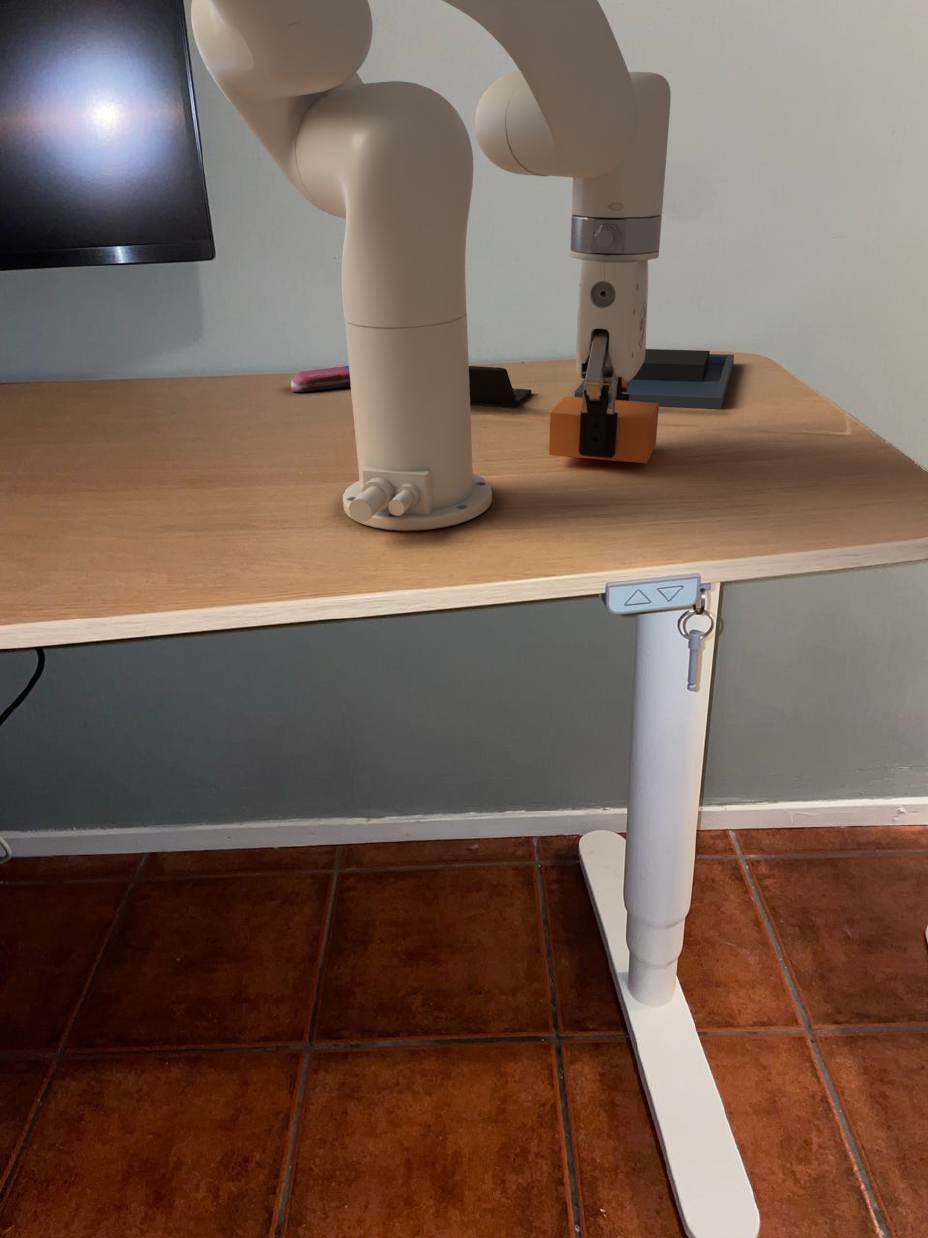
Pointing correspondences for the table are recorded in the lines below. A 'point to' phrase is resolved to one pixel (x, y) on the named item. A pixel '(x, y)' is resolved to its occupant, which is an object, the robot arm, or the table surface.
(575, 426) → the orange block
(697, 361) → the rubber pad
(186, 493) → the table surface
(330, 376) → the eraser
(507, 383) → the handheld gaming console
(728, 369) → the pad tray
